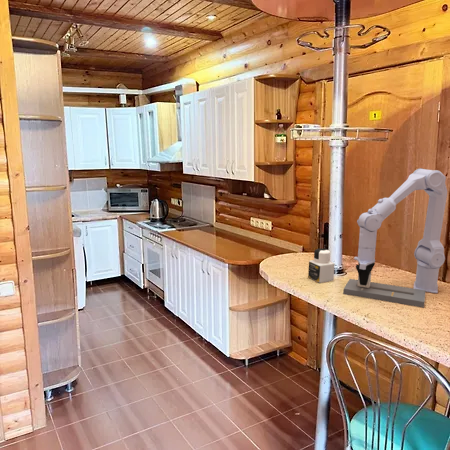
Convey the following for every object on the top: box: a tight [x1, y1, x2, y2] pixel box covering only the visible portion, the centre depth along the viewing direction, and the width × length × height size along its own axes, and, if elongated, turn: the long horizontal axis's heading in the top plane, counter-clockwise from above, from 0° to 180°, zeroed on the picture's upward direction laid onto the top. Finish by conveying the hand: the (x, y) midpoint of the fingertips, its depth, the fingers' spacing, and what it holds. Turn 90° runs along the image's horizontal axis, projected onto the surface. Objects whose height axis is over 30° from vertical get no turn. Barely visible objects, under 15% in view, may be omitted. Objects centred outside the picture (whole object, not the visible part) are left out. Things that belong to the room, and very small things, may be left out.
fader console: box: [342, 278, 426, 309], centre depth 146 cm, size 12×26×2 cm, turn 63°
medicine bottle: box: [307, 248, 335, 284], centre depth 161 cm, size 7×7×12 cm
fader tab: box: [357, 271, 372, 288], centre depth 148 cm, size 3×4×5 cm
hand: (364, 283), depth 149 cm, fingers closed on fader tab, 3 cm apart
